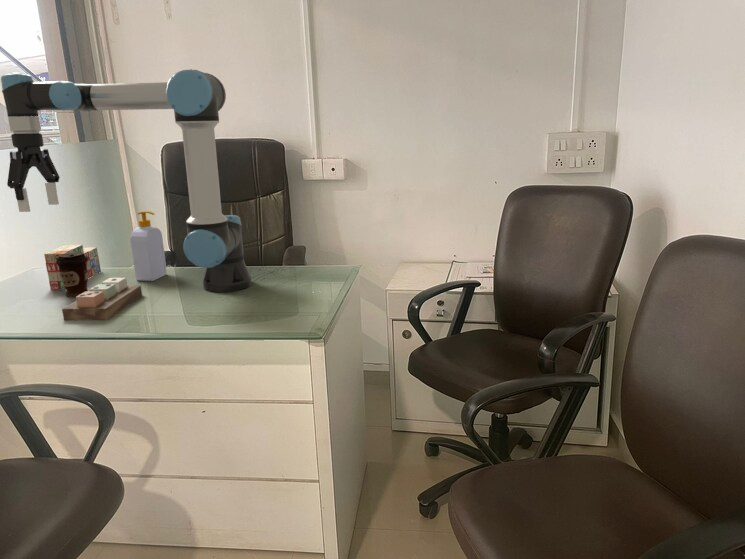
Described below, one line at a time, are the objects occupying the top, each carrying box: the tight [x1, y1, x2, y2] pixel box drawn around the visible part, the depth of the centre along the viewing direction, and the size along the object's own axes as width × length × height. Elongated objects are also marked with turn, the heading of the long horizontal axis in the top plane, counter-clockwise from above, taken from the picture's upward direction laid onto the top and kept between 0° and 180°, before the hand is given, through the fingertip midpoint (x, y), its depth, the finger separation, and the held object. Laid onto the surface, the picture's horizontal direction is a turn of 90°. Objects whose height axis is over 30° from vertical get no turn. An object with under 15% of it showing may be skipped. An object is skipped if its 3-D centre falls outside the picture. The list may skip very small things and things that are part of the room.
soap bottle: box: [130, 210, 168, 282], centre depth 189 cm, size 9×7×23 cm
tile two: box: [88, 283, 116, 299], centre depth 161 cm, size 5×5×3 cm
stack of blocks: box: [43, 244, 102, 291], centre depth 188 cm, size 21×6×12 cm, turn 179°
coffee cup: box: [56, 252, 89, 298], centre depth 172 cm, size 9×8×13 cm
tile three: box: [75, 290, 105, 307], centre depth 154 cm, size 5×5×3 cm
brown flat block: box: [61, 284, 143, 321], centre depth 162 cm, size 12×22×3 cm, turn 178°
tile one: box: [101, 277, 128, 292], centre depth 168 cm, size 5×5×3 cm
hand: (39, 208), depth 162 cm, fingers open, 13 cm apart
